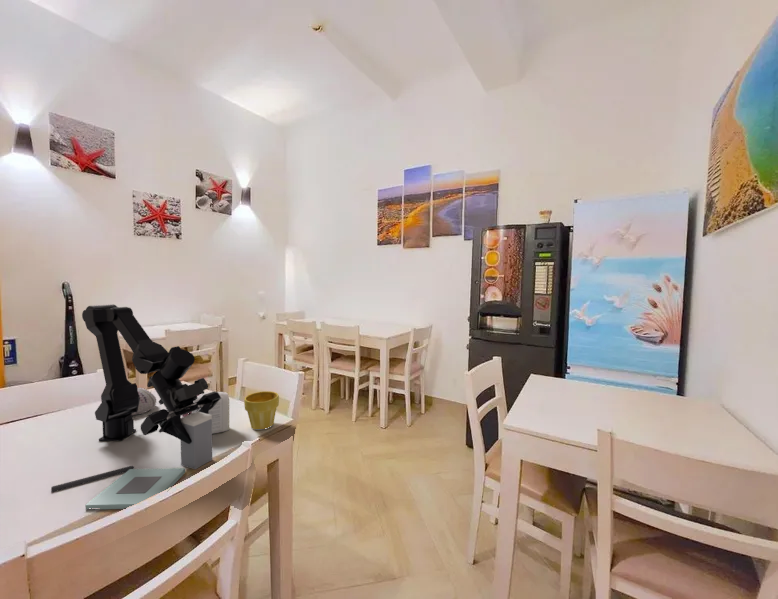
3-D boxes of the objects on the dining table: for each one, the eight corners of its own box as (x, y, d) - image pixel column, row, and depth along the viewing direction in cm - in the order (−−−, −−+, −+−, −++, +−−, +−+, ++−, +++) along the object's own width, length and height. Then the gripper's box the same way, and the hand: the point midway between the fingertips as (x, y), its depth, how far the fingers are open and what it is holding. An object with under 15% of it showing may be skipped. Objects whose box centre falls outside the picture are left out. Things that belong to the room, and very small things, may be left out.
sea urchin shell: (157, 401, 128) (157, 381, 128) (155, 414, 117) (155, 391, 116) (113, 408, 122) (112, 386, 121) (106, 422, 110) (105, 398, 109)
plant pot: (237, 429, 106) (236, 399, 106) (260, 417, 116) (260, 389, 115) (263, 435, 103) (263, 404, 102) (285, 422, 112) (285, 393, 112)
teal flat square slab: (85, 509, 69) (85, 504, 69) (130, 473, 82) (130, 468, 82) (151, 508, 70) (151, 503, 70) (185, 472, 83) (185, 467, 83)
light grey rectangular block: (181, 464, 86) (180, 418, 86) (199, 455, 91) (198, 411, 90) (194, 469, 84) (193, 422, 84) (212, 459, 89) (211, 414, 88)
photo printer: (228, 425, 109) (228, 388, 108) (230, 431, 105) (230, 391, 105) (191, 433, 103) (190, 393, 102) (192, 439, 100) (191, 398, 99)
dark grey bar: (51, 493, 75) (51, 488, 75) (52, 490, 76) (52, 485, 76) (134, 470, 84) (134, 466, 84) (134, 468, 85) (134, 464, 85)
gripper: (146, 381, 79) (179, 436, 75) (215, 363, 96) (245, 407, 93) (127, 408, 83) (157, 462, 79) (197, 386, 100) (225, 430, 96)
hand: (200, 438), depth 87 cm, fingers closed on light grey rectangular block, 5 cm apart
